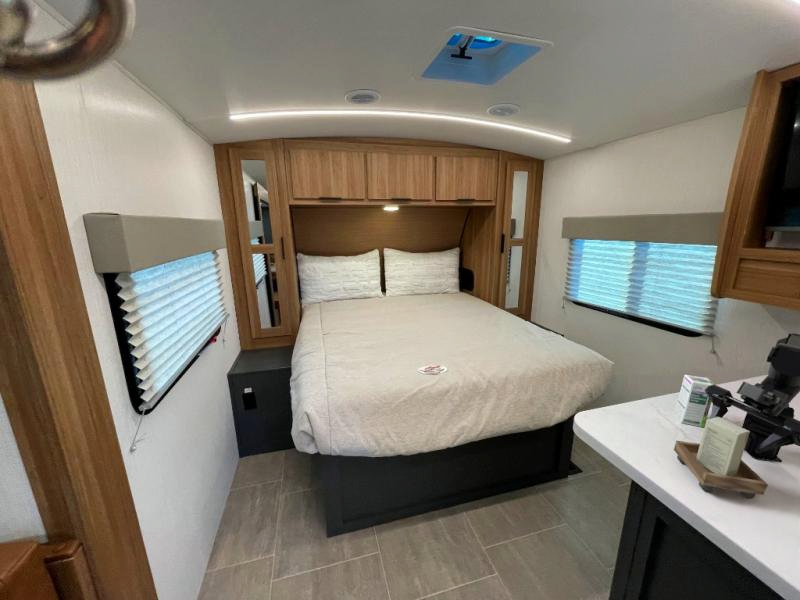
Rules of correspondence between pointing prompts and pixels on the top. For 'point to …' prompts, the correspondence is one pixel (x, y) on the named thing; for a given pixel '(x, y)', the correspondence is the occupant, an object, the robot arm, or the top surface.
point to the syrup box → (693, 401)
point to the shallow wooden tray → (742, 481)
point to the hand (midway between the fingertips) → (731, 438)
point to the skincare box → (722, 446)
